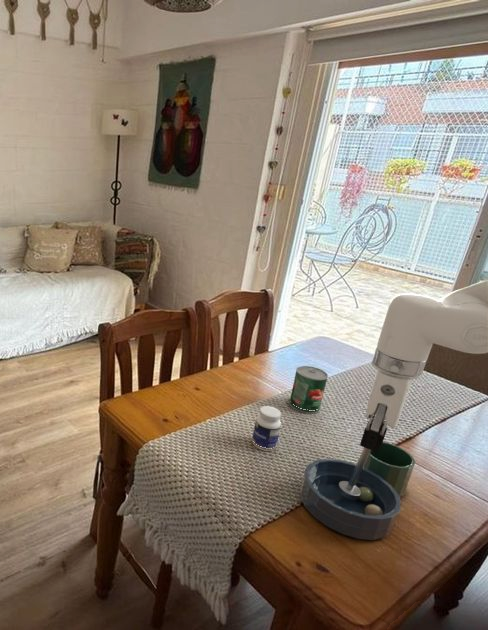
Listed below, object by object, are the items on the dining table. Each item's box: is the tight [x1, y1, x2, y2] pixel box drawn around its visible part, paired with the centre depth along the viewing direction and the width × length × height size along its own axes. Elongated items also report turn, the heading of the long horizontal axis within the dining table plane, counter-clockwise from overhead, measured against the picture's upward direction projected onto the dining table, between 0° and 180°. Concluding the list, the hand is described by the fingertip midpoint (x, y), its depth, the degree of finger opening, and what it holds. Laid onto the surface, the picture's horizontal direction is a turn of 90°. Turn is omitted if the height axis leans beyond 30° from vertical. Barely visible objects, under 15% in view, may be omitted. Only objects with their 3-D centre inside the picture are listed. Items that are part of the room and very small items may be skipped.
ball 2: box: [365, 504, 383, 516], centre depth 87 cm, size 3×3×3 cm
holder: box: [364, 441, 416, 498], centre depth 96 cm, size 9×9×8 cm
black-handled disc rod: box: [337, 422, 383, 500], centre depth 88 cm, size 4×4×18 cm
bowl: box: [299, 458, 402, 541], centre depth 90 cm, size 17×17×6 cm
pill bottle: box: [251, 405, 282, 452], centre depth 108 cm, size 6×6×10 cm
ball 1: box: [358, 487, 373, 502], centre depth 91 cm, size 3×3×3 cm
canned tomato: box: [288, 365, 329, 415], centre depth 125 cm, size 8×8×11 cm
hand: (370, 444), depth 86 cm, fingers closed on black-handled disc rod, 2 cm apart
